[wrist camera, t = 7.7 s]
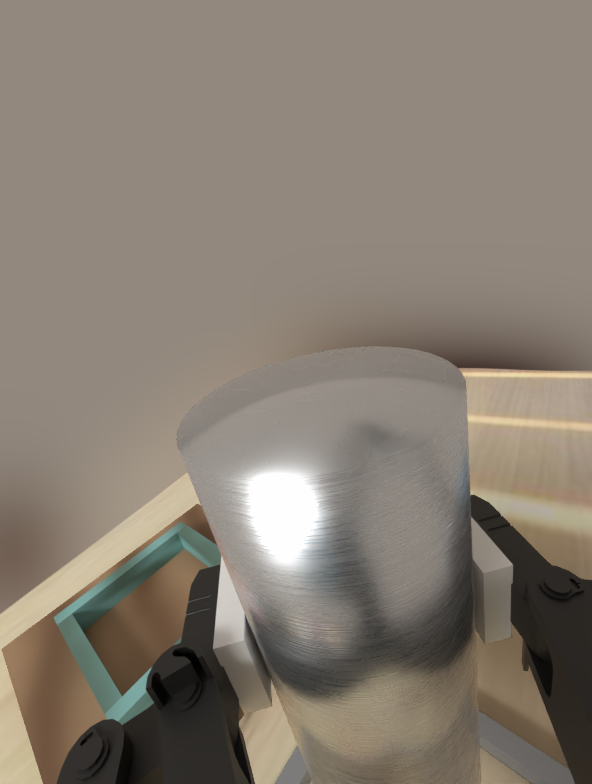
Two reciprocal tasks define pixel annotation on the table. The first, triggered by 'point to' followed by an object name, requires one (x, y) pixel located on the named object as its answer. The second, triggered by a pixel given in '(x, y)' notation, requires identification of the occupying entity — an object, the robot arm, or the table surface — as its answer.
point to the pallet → (107, 641)
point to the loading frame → (522, 757)
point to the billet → (352, 553)
